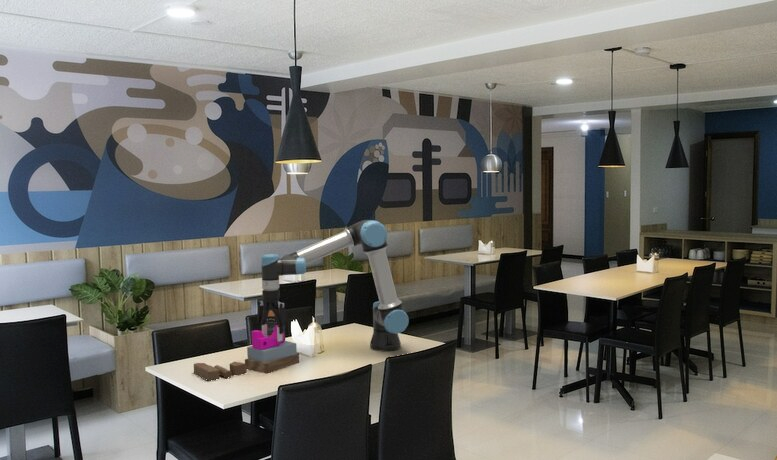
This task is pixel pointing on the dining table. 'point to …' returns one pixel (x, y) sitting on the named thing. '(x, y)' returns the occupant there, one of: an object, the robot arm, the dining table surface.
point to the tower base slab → (271, 364)
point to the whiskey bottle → (272, 323)
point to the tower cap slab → (272, 352)
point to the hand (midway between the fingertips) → (272, 339)
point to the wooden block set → (219, 370)
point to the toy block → (265, 339)
